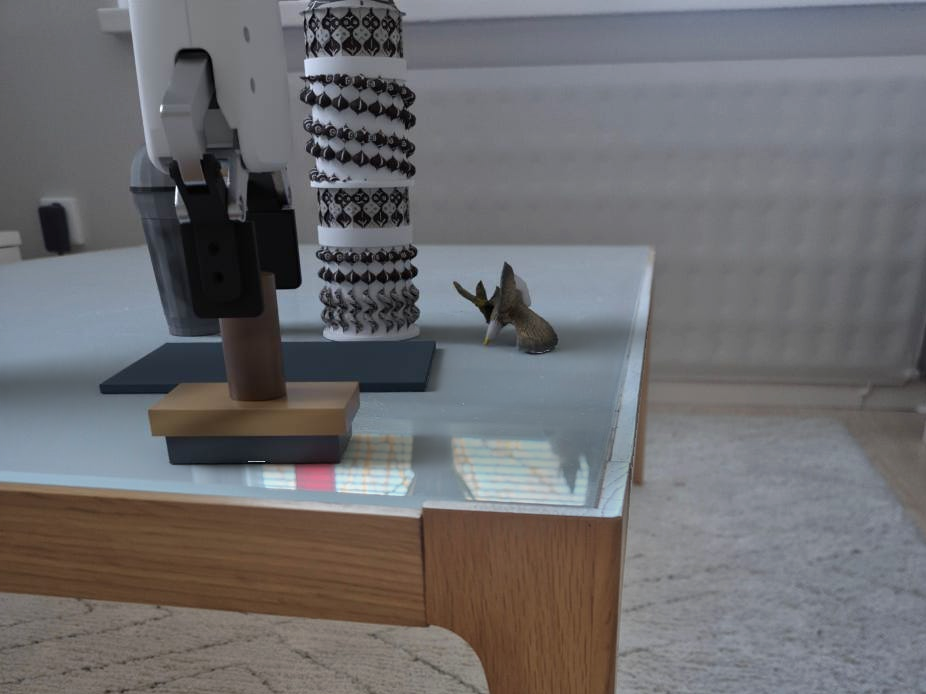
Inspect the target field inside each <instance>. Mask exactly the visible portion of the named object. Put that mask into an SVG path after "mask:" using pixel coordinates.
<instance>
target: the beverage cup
mask: <svg viewBox="0 0 926 694" xmlns="http://www.w3.org/2000/svg"><path fill="white" fill-rule="evenodd" d="M129 182H130V186H129V192H131V193H132V194H131V195H132V198H133V203H134V207H135V209H136V212H137V215H138V217H139V218H140V220H141V224H142V228H143V232H144V237H145V241H146V245H147V249H148V253H149V257H150V263H151V266H152V271H153V274H154V278H155V282H156V286H157V291H158V294H159V295H158V296H159V298H160V303H161V307H162V311H163V315H164V316H165V317H164V318H165V320H166V324H167V326H168V332H169V334H170V335H171V336H172V335H173V336H179V337H180V336H181V337H196V336H197V337H199V336H208V335H213V334H217V333H221V330H220V322H219V318H213V319H201V318H198V317H197V316H196V315H195V314H194V312H193V308H192V301H191V295H190V289H189V282H188V276H187V270H186V263H185V257H184V251H183V244H182V238H181V232H180V225H179V224H181V223H180V222H179V220H178V217H177V213H176V207H175V196H176V184H175V181H174V179H172V178H171V177H170V175H168V174H164V173H163V172H161V171H160V170H159V169H158V168H156V167H155V165H154V164H153V163H152V162H151V160H150V158H149V156H148V152H147V146H146V140H145V141H144V142H142V143H141V145H139V147H138V148H137V150H136V152H135V154H134V155H133V158H132V161H131V165H130V173H129Z"/></svg>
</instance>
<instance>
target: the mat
mask: <svg viewBox="0 0 926 694" xmlns="http://www.w3.org/2000/svg"><path fill="white" fill-rule="evenodd" d="M281 342H282V352H283V361H284V371H285V380H286V382H359V392H425V391H426V388H427V385H428V380H429V377H430V373H431V368H432V365H433V361H434V357H435V353H436V349H437V341H436V340H399V341H335V340H329V341H327V340H325V341H323V340H322V341H320V340H319V341H317V340H316V341H315V340H314V341H281ZM181 383H228V382H227V375H226V367H225V360H224V352H223V345H222V341H204V342H203V341H200V342H199V341H198V342H196V341H195V342H190V341H189V342H188V341H187V342H183V341H182V342H164V343H163V344H162V345H160V346H158V347H157V348H155V349H154V350H152V351H151V352H149V353H147V354H146V355H143V357H141V358H139V359H138V360H136V361H134V362H132V363H131V364H130V365H128V366H126V367H125V368H123V369H122V370H120V371H118V372H117V373H115V374H113V375H112V376H109V378H107V379H106V380H104V381H103V382H101V383H99V384H98V387H99V393H101V394H168V393H169V392H171V391H172V390H173V389H174V388H176V387H177V386H178V385H180V384H181Z"/></svg>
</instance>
